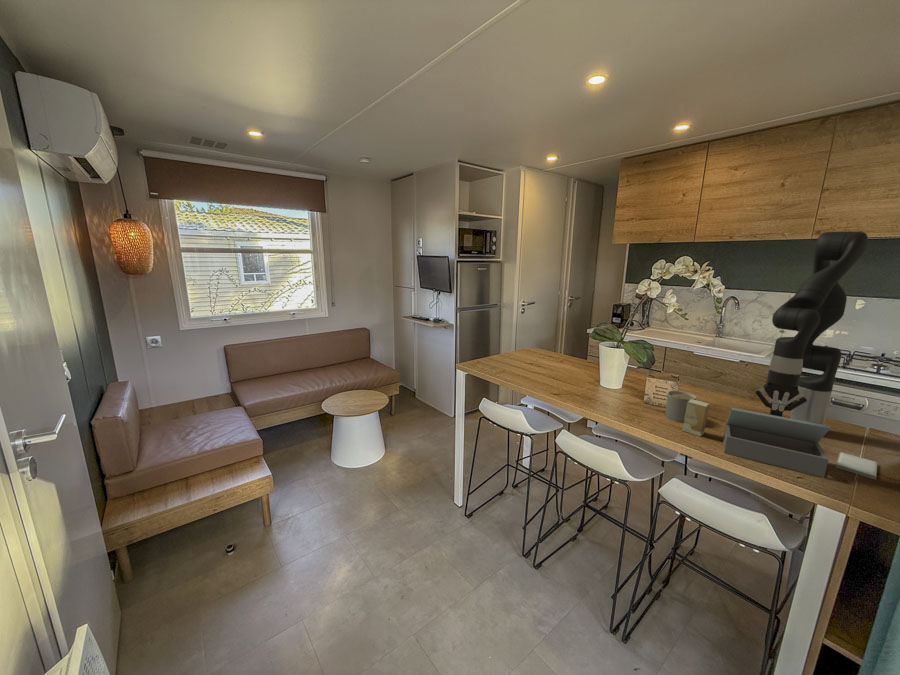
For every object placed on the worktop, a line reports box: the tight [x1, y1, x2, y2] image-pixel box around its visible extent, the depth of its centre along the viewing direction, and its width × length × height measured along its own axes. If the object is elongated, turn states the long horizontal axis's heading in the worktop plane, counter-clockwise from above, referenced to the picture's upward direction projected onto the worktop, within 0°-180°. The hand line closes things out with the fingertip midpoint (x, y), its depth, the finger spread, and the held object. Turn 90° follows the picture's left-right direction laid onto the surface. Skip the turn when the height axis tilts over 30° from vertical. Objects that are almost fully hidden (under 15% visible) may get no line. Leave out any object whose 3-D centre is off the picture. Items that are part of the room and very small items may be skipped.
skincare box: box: [681, 399, 711, 437], centre depth 133 cm, size 6×4×12 cm
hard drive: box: [835, 451, 878, 480], centre depth 112 cm, size 2×8×12 cm
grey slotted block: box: [722, 423, 829, 478], centre depth 117 cm, size 12×24×6 cm, turn 54°
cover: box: [725, 407, 832, 443], centre depth 117 cm, size 12×24×1 cm
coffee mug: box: [664, 390, 697, 423], centre depth 148 cm, size 13×10×10 cm
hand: (774, 420), depth 117 cm, fingers closed
